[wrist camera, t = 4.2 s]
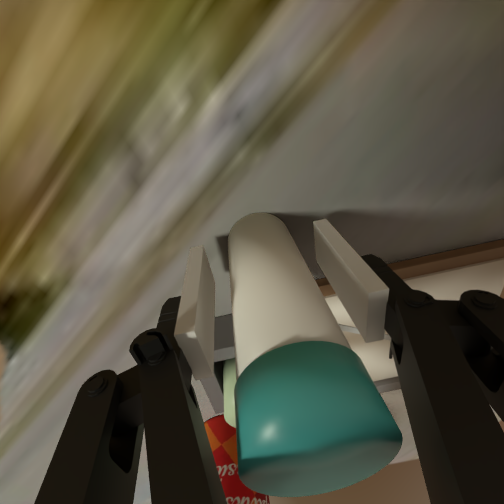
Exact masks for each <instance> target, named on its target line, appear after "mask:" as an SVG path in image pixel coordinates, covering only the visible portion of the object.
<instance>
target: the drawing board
mask: <svg viewBox="0 0 504 504" xmlns="http://www.w3.org/2000/svg"><path fill="white" fill-rule="evenodd" d="M387 266H389V267H390V268H391V269H392V270H393V271H394V272H395V273H396V274H397V275H398V276H399V277H400V278H401V279H402V280H403V281H404V282H405V283H406V284H407V285H408V286H409V287H410V288H411V289H414V290H420V291H423V292H426V293H428V294H429V295H431V296H432V297H433V298H434V299H435V300H460V296H461V294H462V293H463V292H465V291H468V290H483V291H488V292H491V293H494V294H496V295H498V296H500V297H501V298H503V299H504V239H502V240H497V241H492V242H488V243H483V244H479V245H474V246H469V247H465V248H460V249H456V250H451V251H446V252H442V253H437V254H432V255H428V256H423V257H419V258H414V259H409V260H405V261H400V262H396V263H391V264H387ZM315 281H316V283H317V285H318V287H319V289H320V291H321V292H322V294H323V296H324V298H325V300H326V302H327V304H328V306H329V307H330V309H331V311H332V313H333V315H334V317H335V319H336V320H337V322H338V324H339V326H340V328H341V330H342V332H343V334H344V335H345V337H346V339H347V341H348V343H349V345H350V347H351V349H352V350H353V351H354V352H355V353H356V354H357V355H358V356H359V357H360V358H361V360H362V362H363V364H364V366H365V368H366V369H367V371H368V373H369V375H370V377H371V379H372V380H373V382H374V384H375V386H376V388H377V389H378V391H379V393H383V392H388V391H392V390H397V389H401V385H400V382H399V378H398V374H397V370H396V366H395V362H394V358H393V355H392V359H389V350H390V342H391V337H390V336H389V335H388V333H387V332H386V330H385V334H384V340H380V341H375V342H370V343H366V342H365V341H364V339H363V338H362V336H361V334H360V333H359V331H358V329H357V328H356V326H355V324H354V323H353V321H352V319H351V318H350V316H349V314H348V313H347V311H346V309H345V308H344V306H343V304H342V303H341V301H340V300H339V298H338V296H337V295H336V293H335V291H334V290H333V288H332V286H331V285H330V283H329V281H328V280H327V278H322V279H317V280H315Z"/></svg>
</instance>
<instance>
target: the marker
mask: <svg viewBox="0 0 504 504" xmlns="http://www.w3.org/2000/svg"><path fill="white" fill-rule="evenodd" d="M228 256H229V272H230V288H231V303H232V319H233V335H234V350H235V366H236V384H235V388H234V401H235V420H236V439H237V458H238V475H239V478H240V480H241V481H242V483H243V484H244V485H245V486H246V487H248V488H250V489H251V490H253V491H256V492H258V493H261V494H265V495H270V496H278V497H301V496H309V495H317V494H322V493H327V492H331V491H335V490H338V489H341V488H344V487H347V486H350V485H353V484H355V483H357V482H360V481H362V480H364V479H366V478H368V477H370V476H372V475H373V474H375V473H376V472H378V471H380V470H381V469H382V468H384V467H385V466H386V465H388V464H389V463H390V462H391V461H392V460H393V459H394V457H395V456H396V455H397V454H398V452H399V450H400V448H401V445H402V439H403V438H402V433H401V431H400V430H399V428H398V426H397V424H396V422H395V420H394V419H393V417H392V415H391V413H390V411H389V410H388V408H387V406H386V404H385V402H384V400H383V399H382V397H381V395H380V393H379V391H378V389H377V388H376V386H375V384H374V382H373V380H372V379H371V377H370V375H369V373H368V371H367V369H366V368H365V366H364V364H363V362H362V360H361V358H360V357H359V356H358V355H357V354H356V353H355V352H354V351H353V350H352V349H351V347H350V345H349V343H348V341H347V339H346V337H345V335H344V334H343V332H342V330H341V328H340V326H339V324H338V322H337V320H336V319H335V317H334V315H333V313H332V311H331V309H330V307H329V306H328V304H327V302H326V300H325V298H324V296H323V294H322V292H321V291H320V289H319V287H318V285H317V283H316V281H315V279H314V277H313V276H312V274H311V272H310V270H309V268H308V266H307V264H306V262H305V261H304V259H303V257H302V255H301V253H300V251H299V249H298V248H297V246H296V244H295V242H294V240H293V238H292V236H291V234H290V233H289V231H288V229H287V227H286V225H285V224H284V223H283V221H282V220H280V219H279V218H278V217H276V216H274V215H271V214H268V213H253V214H249V215H247V216H245V217H243V218H241V219H240V220H239V221H237V222H236V223H235V225H234V226H233V227H232V229H231V230H230V233H229V236H228Z"/></svg>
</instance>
